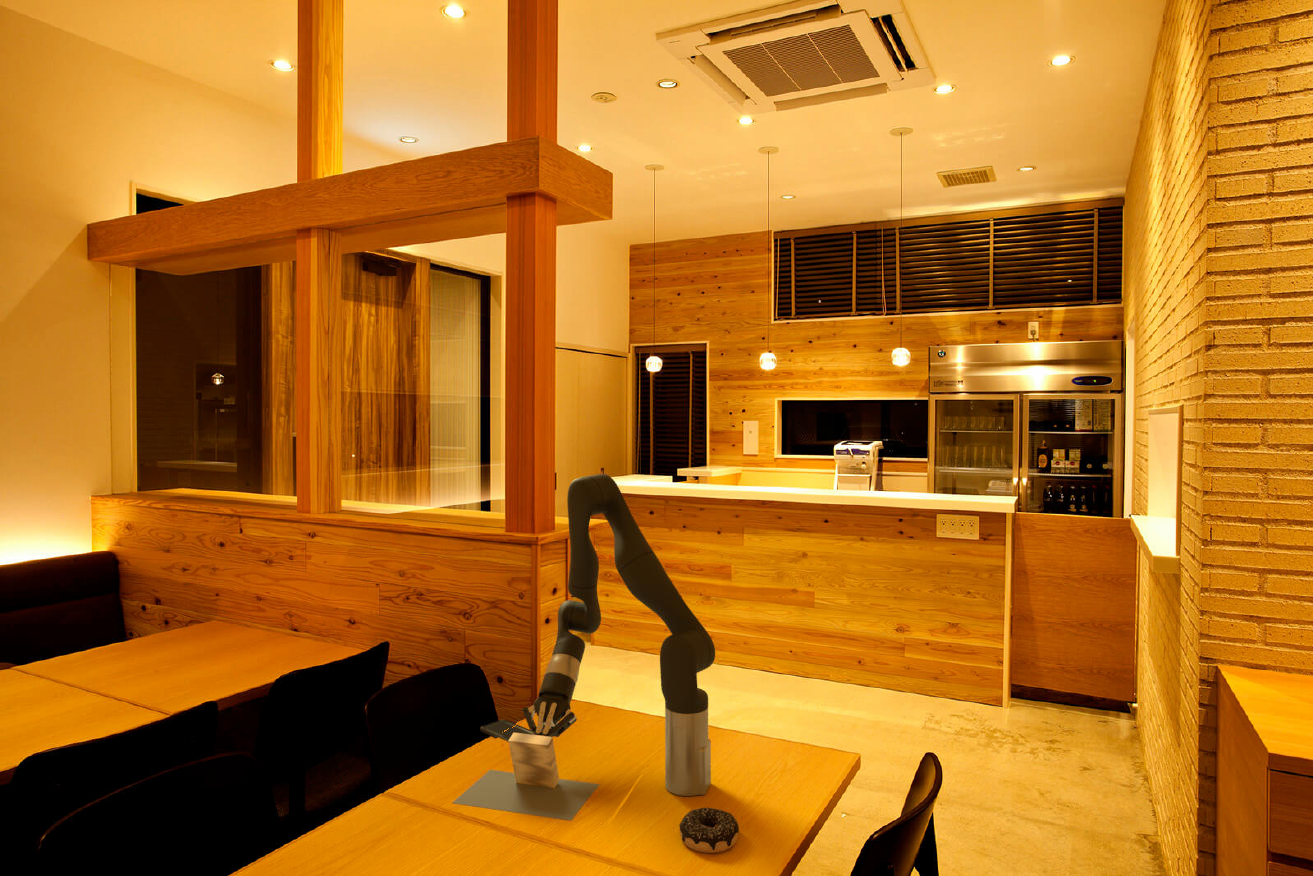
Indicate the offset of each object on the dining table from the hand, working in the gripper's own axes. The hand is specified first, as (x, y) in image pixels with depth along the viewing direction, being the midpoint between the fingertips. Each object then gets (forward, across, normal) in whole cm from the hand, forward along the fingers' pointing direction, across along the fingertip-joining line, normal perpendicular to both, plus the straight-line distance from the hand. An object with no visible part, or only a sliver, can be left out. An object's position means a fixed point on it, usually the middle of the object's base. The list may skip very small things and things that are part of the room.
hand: (537, 753), depth 167 cm
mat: (+8, 0, +1) cm, 8 cm away
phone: (-12, -19, +22) cm, 31 cm away
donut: (+13, +40, -3) cm, 42 cm away
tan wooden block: (+4, 0, +4) cm, 6 cm away
